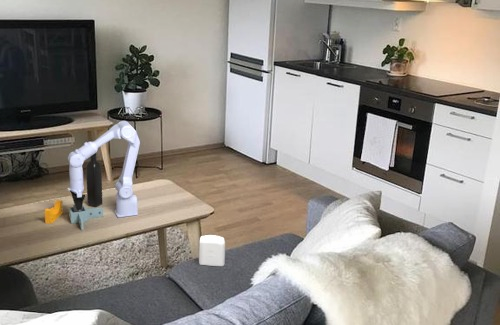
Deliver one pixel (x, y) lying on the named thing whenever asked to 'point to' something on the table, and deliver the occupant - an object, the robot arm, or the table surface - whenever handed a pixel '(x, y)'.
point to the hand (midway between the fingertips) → (77, 206)
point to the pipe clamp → (53, 212)
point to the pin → (76, 209)
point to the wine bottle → (94, 182)
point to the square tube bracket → (84, 215)
